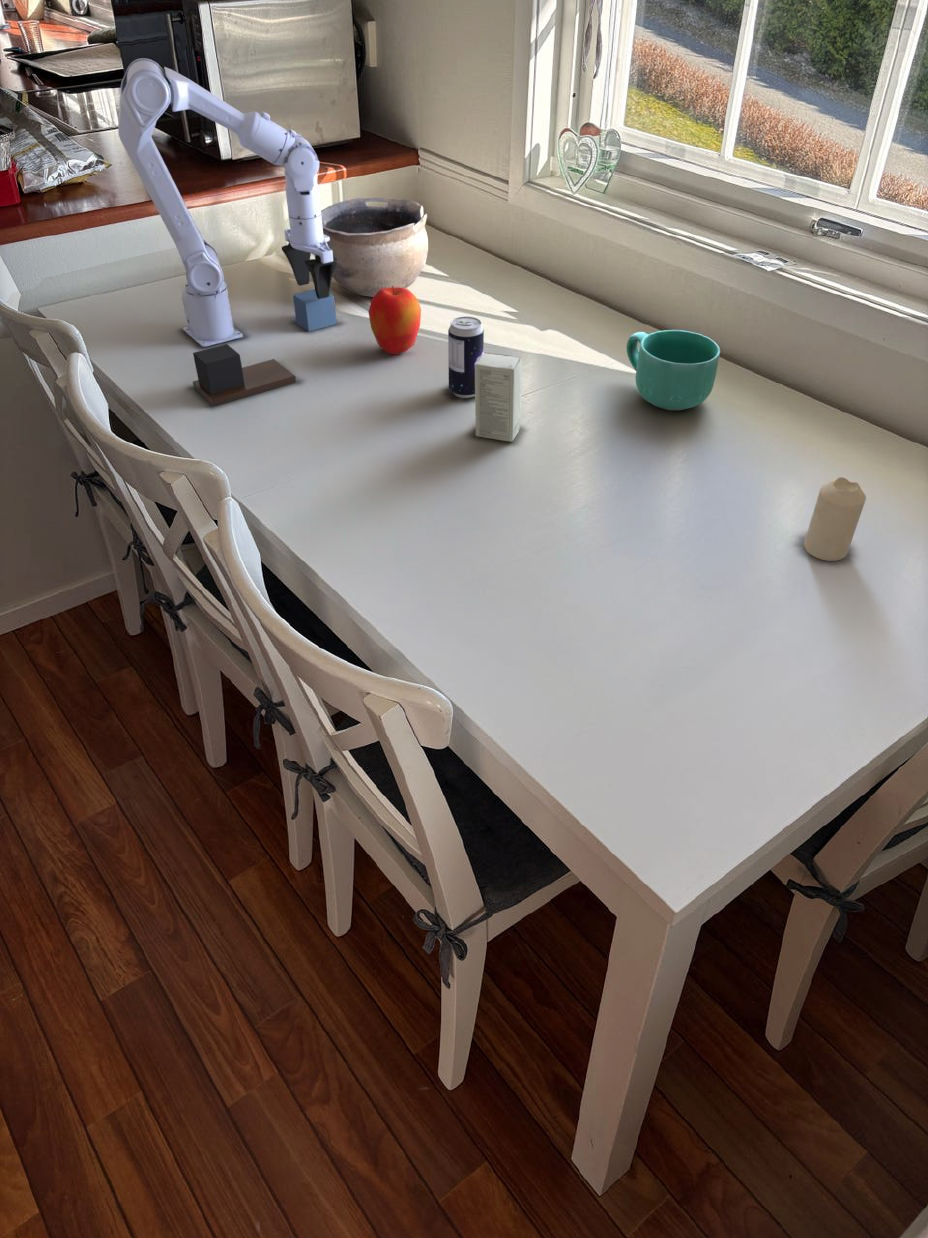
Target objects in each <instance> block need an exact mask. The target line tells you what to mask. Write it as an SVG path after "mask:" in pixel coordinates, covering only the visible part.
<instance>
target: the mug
mask: <svg viewBox="0 0 928 1238" xmlns="http://www.w3.org/2000/svg"><path fill="white" fill-rule="evenodd" d="M626 341H627V342H626V347H625V348H626V355H627V357H628V360H629V363H630V364H631V366H632V368H633V369H634V370H635V384H636V390H637V391H638V393H639V395H640V396H641V397H642V398H643V399H644V400H645V401H646V402H648V403H650V404H651V405H653V406H654V407H656V408H658V409H662V410H667V411H672V412H673V411H676V412H677V411H684V410H687V409H691V408H694V407H696V406H699V405H700V404H702V403H703V402H704V401H706V400H707V399H708V397H709V396H710V395H711V392H712V390H713V388H714V385H715V384H714V383H715V380H716V376H717V371H718V366H719V360H720V357H721V355H720V354H721V349H720V346H719V345H718V343H716V342H715V341H714V340H713V339H711V338H710V337H708V336H706V335H705V334H700V333H697V332H694V331H690V330H689V331H688V330H681V329H678V330H677V329H665V330H658V331H654V332H651V333H649V334H648V333H646V332H644V331H637V332H634V333H633V334H631V335H630V336H629V338H628V339H627V340H626Z"/></svg>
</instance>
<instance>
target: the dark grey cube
mask: <svg viewBox="0 0 928 1238" xmlns="http://www.w3.org/2000/svg"><path fill="white" fill-rule="evenodd" d="M192 355H193V361H194V367H195V370H196V371H195V372H196V376H197V380H198V381H199V384H200V385H201V386H202V387H203V388H204V389H205V390H206V391H207V392H208V393H210V394H211V395H214V394H217V393H221V392H224V391H228V390H231V389H235V388H238V387H242V386H245V383H244V377H243V371H242V368H243V365H242V359H241V355H240V353H239V352H237V351H236V350H235V349H234V348H232V347H231V346H230V345H229V344H227V343H225V344H222V345H218V346H214V347H210V348H205V349H201V350H199V351H194V352H192Z"/></svg>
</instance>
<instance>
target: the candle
mask: <svg viewBox="0 0 928 1238" xmlns="http://www.w3.org/2000/svg"><path fill="white" fill-rule="evenodd" d="M866 500H867V496H866V494H865V492H864V491H863V489H862V487H861V486H860V484H859V482H855V481H853V482H852V481H850V480H848V479H847V478H845V477H842V476H841V477H838V478H836V479H833V480H831V481H828V482H827V483H824V484H823V485H821V487H820V488H819V491H818V495H817V499H816V501H815V504H814V508H813V512H812V515H811V518H810V521H809V524H808V528H807V532H806V535H805V539H804V543H803V545H804V546H803V547H804V549H805V551H806V552H807V553H808V554H809V555H810V556H812V557H814V558H816V559H819V560H822V561H828V562H837V561H840V560H842V559H844V558H845V557H846V556H847V555H848V552H849V549H850V547H851V544H852V541H853V538H854V535H855V533H856V529H857V526H858V524H859V522H860V521H859V520H860V518H861V514H862V511H863V509H864V506H865V503H866Z"/></svg>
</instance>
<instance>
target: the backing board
mask: <svg viewBox="0 0 928 1238" xmlns="http://www.w3.org/2000/svg"><path fill="white" fill-rule="evenodd" d="M242 371H243V377H244V383H245V386H242V387H238V388H235V389H231V390H228V391H224V392H221V393H217V394H214V395H211V394H210V393H208V392H207V391H206V390H205V389H204V388H203V387H202V386H201V385H200V384H199V381H198V379H197V380H193V381H192V385H193V389H195V390H196V391H197V393H199V394H200V395H201V396H202V397H203V398H204V399H205V400H207V402H208V403H209V404H211V406H212V407H216V406H220V405H224V404H227V403H230V402H235V401H237V400H241V399H243V398H247V397H251V396H255V395H256V394H261V393H265V392H267V391H271V390H274V389H279V388H281V387H284V386H287V385H291V384H294V383H296V382H297V381H296V375H295V374H294V373H292V372H291V371H290V370H288V369H287V368H286V367H285V366H284V365H282V364H281V363H280V362H278V360H276V359H275V358H271V359H269V360H265V361H261V362H258V363H253V364H250V365H247V366H244V367H243V366H242Z"/></svg>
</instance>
